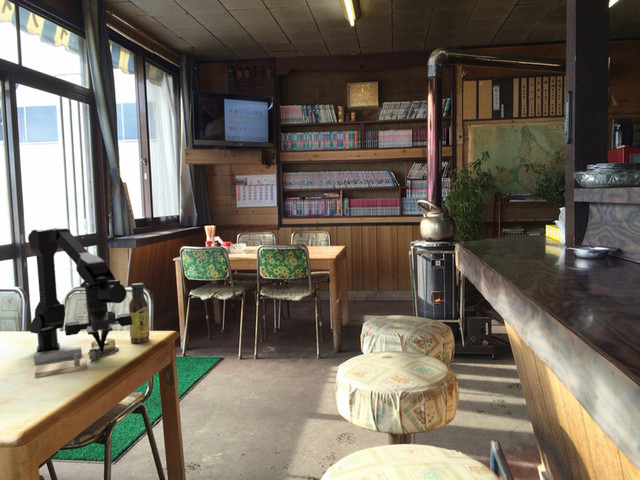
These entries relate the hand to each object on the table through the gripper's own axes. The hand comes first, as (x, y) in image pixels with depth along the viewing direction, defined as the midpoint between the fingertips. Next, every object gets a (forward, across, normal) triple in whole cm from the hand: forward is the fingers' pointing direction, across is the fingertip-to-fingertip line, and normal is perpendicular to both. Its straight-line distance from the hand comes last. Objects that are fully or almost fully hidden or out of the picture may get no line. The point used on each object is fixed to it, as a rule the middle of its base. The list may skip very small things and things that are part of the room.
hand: (101, 351), depth 153 cm
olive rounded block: (+1, 0, +4) cm, 4 cm away
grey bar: (+2, -11, +6) cm, 13 cm away
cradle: (+2, -11, -6) cm, 13 cm away
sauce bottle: (+3, +13, +13) cm, 18 cm away
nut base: (+2, +1, +7) cm, 7 cm away
